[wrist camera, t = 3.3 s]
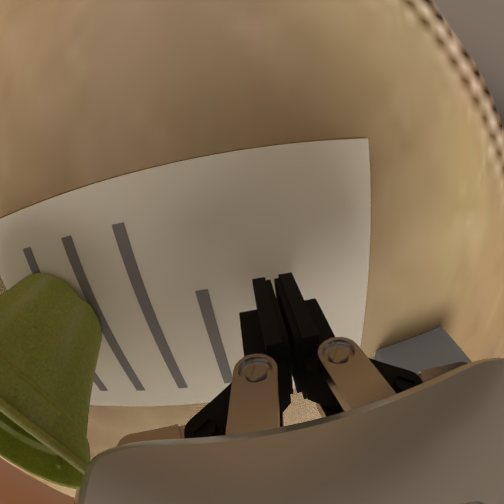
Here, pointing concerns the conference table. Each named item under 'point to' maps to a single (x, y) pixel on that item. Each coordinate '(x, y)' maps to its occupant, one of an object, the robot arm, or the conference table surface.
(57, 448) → the plant pot
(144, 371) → the letter
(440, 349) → the cube
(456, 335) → the conference table surface
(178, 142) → the conference table surface
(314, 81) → the conference table surface
